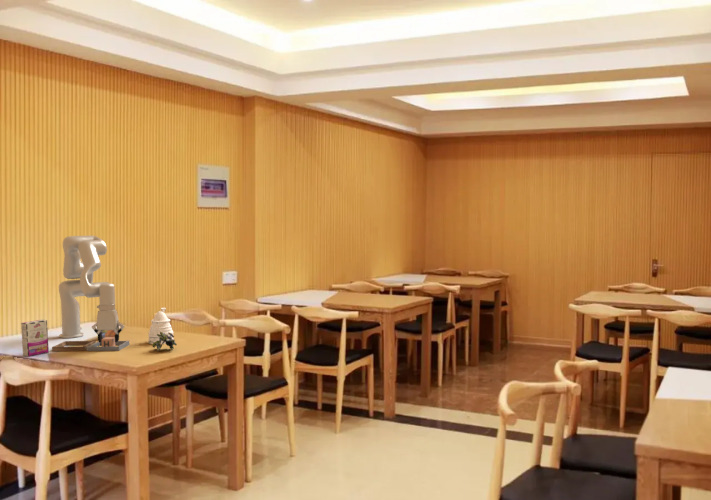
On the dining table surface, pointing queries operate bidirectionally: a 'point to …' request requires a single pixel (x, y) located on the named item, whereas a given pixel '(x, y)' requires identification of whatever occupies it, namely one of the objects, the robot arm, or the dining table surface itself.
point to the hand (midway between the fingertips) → (108, 341)
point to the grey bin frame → (112, 348)
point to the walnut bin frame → (81, 348)
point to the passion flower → (165, 338)
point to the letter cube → (108, 341)
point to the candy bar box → (34, 337)
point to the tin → (108, 333)
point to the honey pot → (159, 326)
